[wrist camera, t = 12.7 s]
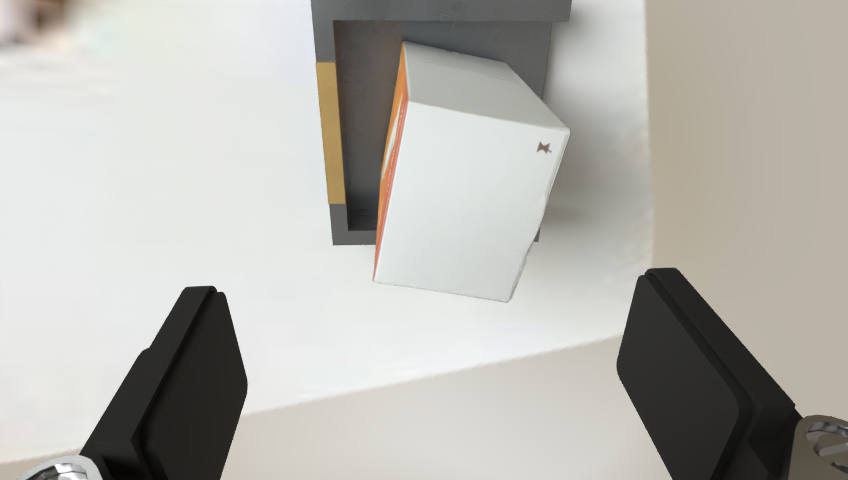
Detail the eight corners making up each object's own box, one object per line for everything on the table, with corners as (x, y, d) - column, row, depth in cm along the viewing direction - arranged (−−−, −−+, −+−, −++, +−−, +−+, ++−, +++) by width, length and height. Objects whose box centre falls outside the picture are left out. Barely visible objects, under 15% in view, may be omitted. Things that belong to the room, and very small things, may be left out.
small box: (400, 38, 29) (406, 94, 18) (507, 61, 30) (578, 128, 18) (378, 170, 33) (370, 286, 21) (473, 186, 34) (514, 306, 22)
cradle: (320, -8, 28) (309, -2, 25) (550, -7, 29) (573, 0, 25) (338, 216, 35) (332, 247, 32) (524, 213, 36) (539, 243, 32)
